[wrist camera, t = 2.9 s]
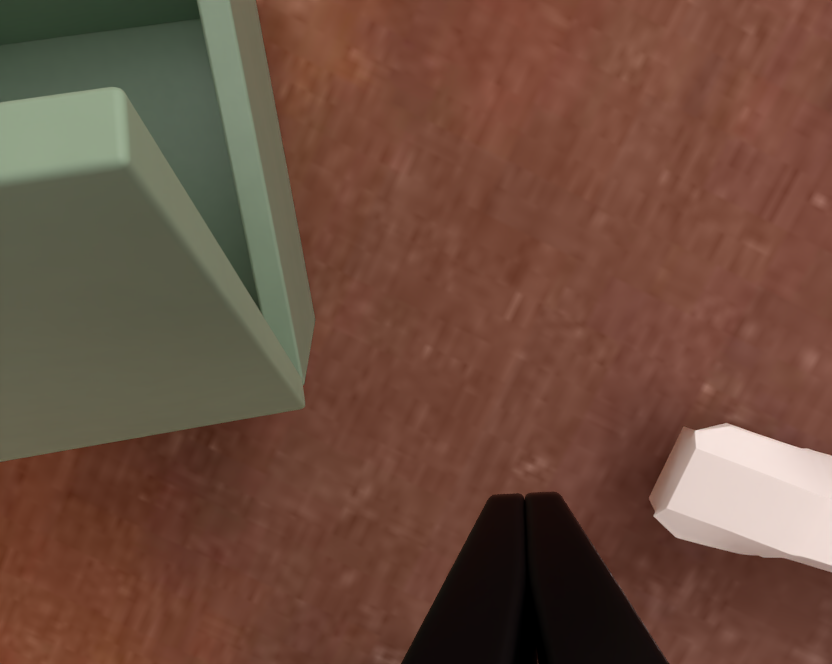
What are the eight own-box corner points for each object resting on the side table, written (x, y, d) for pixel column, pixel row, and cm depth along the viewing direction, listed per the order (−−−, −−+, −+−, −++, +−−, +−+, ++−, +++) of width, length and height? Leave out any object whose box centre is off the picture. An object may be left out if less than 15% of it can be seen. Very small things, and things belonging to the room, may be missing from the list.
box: (-99, 39, 18) (-338, -34, 12) (254, -8, 19) (210, -102, 12) (2, 373, 20) (-154, 465, 14) (315, 321, 21) (305, 386, 15)
